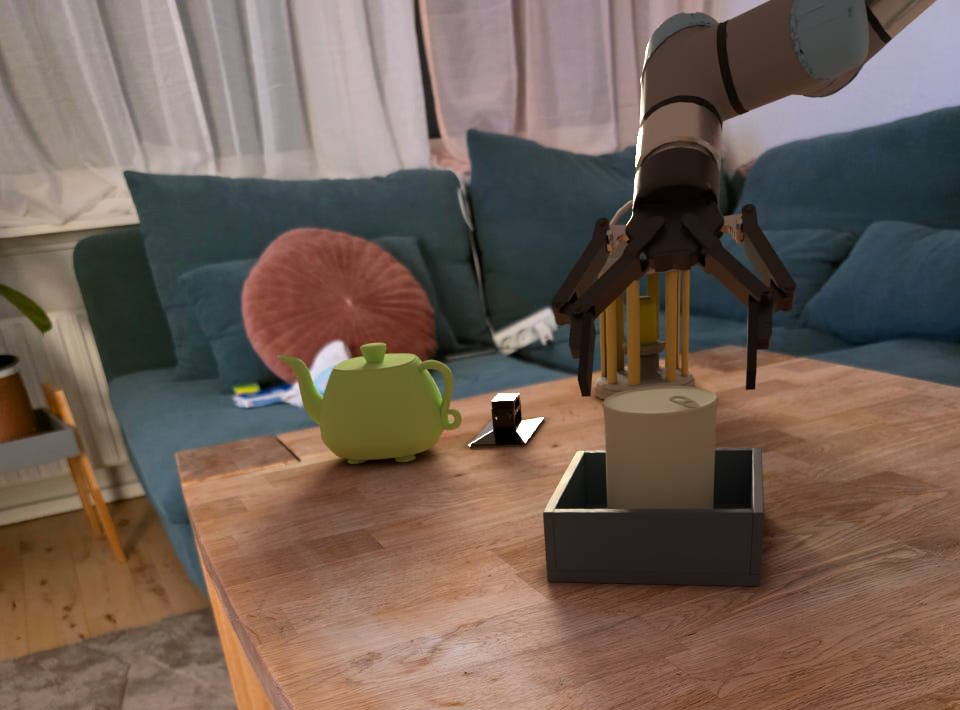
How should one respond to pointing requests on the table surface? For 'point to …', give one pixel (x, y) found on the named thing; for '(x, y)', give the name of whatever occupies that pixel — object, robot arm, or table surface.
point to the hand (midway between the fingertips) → (665, 384)
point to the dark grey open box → (657, 529)
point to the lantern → (644, 332)
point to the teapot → (379, 405)
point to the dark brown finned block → (507, 424)
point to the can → (660, 448)
